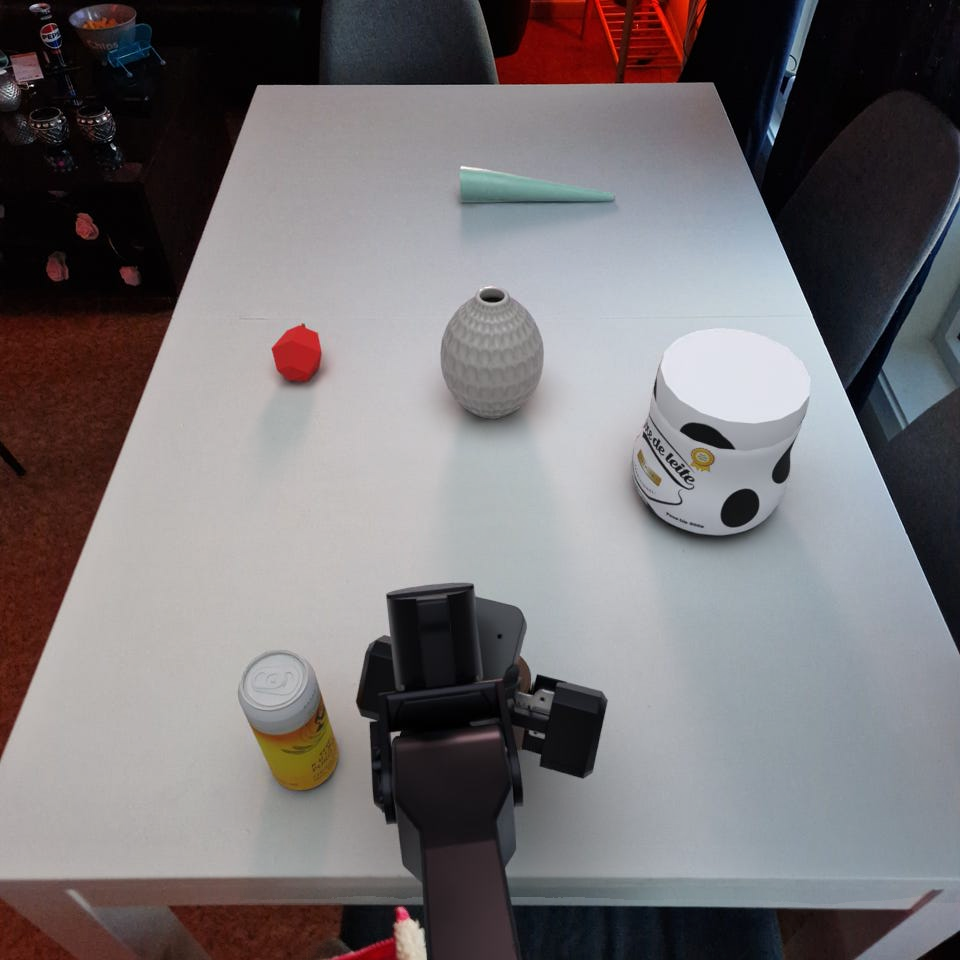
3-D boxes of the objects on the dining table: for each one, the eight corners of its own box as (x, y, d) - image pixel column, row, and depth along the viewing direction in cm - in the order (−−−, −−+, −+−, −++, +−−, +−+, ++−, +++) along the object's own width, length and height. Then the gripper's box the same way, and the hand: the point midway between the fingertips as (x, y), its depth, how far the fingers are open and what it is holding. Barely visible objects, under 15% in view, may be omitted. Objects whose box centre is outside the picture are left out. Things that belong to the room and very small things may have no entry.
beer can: (334, 794, 73) (307, 715, 62) (266, 793, 73) (226, 714, 62) (343, 729, 77) (319, 644, 66) (278, 729, 77) (243, 644, 66)
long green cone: (619, 178, 137) (459, 175, 138) (615, 209, 141) (459, 205, 142) (617, 163, 141) (461, 160, 142) (614, 193, 145) (462, 190, 146)
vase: (559, 415, 106) (569, 307, 94) (472, 449, 102) (470, 341, 90) (509, 360, 114) (511, 253, 101) (426, 390, 109) (418, 283, 97)
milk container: (601, 506, 95) (619, 388, 82) (666, 420, 105) (692, 303, 92) (742, 573, 89) (787, 457, 75) (798, 476, 98) (846, 358, 85)
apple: (305, 365, 105) (318, 311, 108) (258, 365, 107) (272, 313, 110) (327, 391, 111) (339, 340, 114) (283, 391, 113) (295, 341, 116)
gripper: (618, 651, 53) (626, 612, 69) (352, 585, 57) (416, 563, 72) (583, 816, 54) (599, 741, 69) (321, 740, 58) (391, 685, 73)
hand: (499, 678), depth 71 cm, fingers closed on bottle, 6 cm apart
